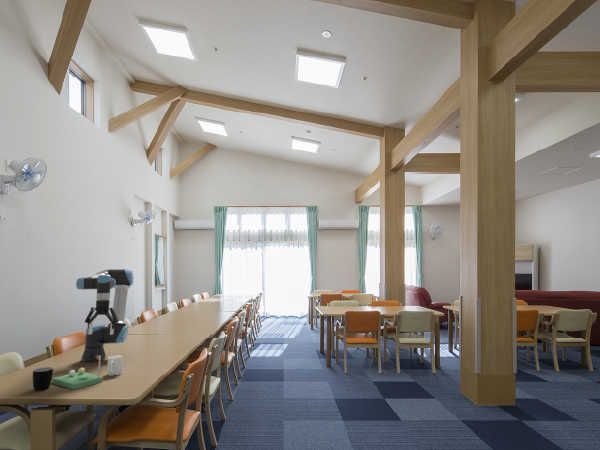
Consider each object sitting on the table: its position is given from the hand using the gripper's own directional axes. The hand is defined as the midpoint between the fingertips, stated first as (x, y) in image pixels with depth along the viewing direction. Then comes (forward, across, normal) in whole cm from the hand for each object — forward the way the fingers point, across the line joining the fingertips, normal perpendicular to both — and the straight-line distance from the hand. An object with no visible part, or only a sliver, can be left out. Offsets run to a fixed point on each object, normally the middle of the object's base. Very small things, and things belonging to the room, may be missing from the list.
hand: (100, 334), depth 233 cm
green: (+23, -1, -19) cm, 30 cm away
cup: (+24, +11, -4) cm, 26 cm away
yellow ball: (+19, -4, -11) cm, 22 cm away
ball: (+19, -7, -16) cm, 26 cm away
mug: (+24, -13, -32) cm, 42 cm away
